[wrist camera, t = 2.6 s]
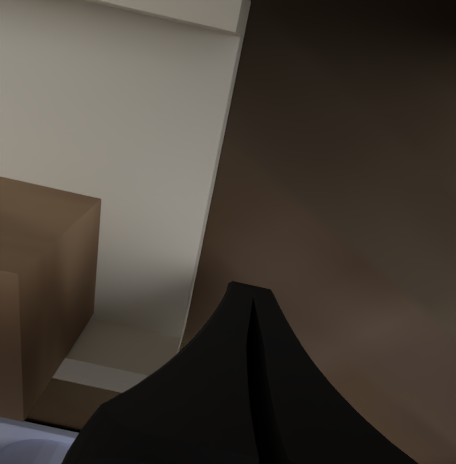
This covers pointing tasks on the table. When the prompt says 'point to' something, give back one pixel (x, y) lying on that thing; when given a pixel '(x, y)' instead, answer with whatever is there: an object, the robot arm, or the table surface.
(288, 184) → the table surface
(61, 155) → the trap lane
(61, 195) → the block
